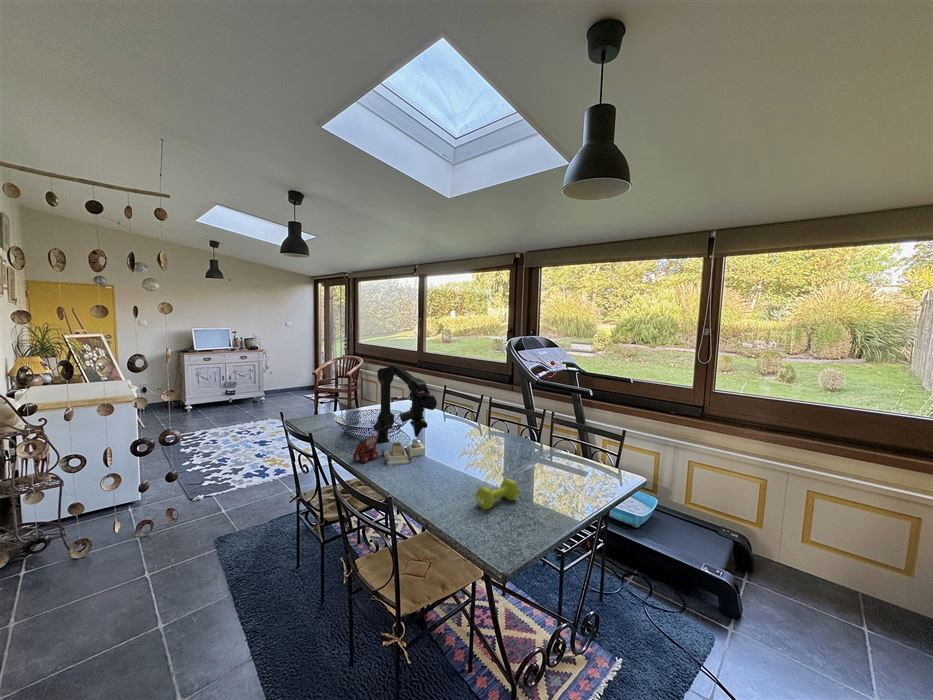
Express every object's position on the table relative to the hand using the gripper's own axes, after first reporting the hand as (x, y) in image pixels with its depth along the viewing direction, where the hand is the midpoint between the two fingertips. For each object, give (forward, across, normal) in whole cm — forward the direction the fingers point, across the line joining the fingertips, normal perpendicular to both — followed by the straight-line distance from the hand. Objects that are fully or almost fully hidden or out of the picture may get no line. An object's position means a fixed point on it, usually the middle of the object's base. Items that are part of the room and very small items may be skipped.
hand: (416, 437), depth 176 cm
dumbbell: (+8, +55, +19) cm, 59 cm away
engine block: (+7, +6, -10) cm, 14 cm away
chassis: (+8, +5, -10) cm, 14 cm away
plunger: (+5, 0, 0) cm, 5 cm away
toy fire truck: (+8, +3, -24) cm, 26 cm away
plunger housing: (+8, 0, 0) cm, 8 cm away
